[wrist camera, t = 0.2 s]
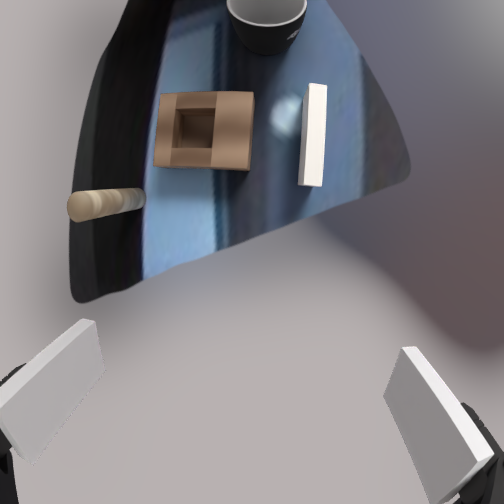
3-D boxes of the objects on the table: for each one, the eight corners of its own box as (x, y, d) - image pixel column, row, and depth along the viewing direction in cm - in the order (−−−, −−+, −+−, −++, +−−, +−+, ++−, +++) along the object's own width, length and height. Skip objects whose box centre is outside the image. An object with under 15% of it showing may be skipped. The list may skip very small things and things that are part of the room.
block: (172, 103, 33) (160, 93, 29) (254, 102, 33) (253, 92, 29) (165, 168, 36) (153, 166, 31) (249, 171, 35) (247, 168, 31)
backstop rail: (303, 98, 33) (309, 82, 27) (318, 100, 32) (326, 85, 27) (297, 185, 35) (303, 184, 29) (312, 186, 35) (321, 186, 29)
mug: (290, 70, 32) (297, 34, 22) (227, 56, 32) (215, 19, 22) (309, 11, 29) (318, -28, 19) (251, -1, 29) (246, -41, 19)
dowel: (128, 188, 36) (67, 191, 23) (146, 188, 36) (88, 191, 23) (127, 208, 37) (67, 221, 24) (145, 209, 37) (88, 222, 23)
